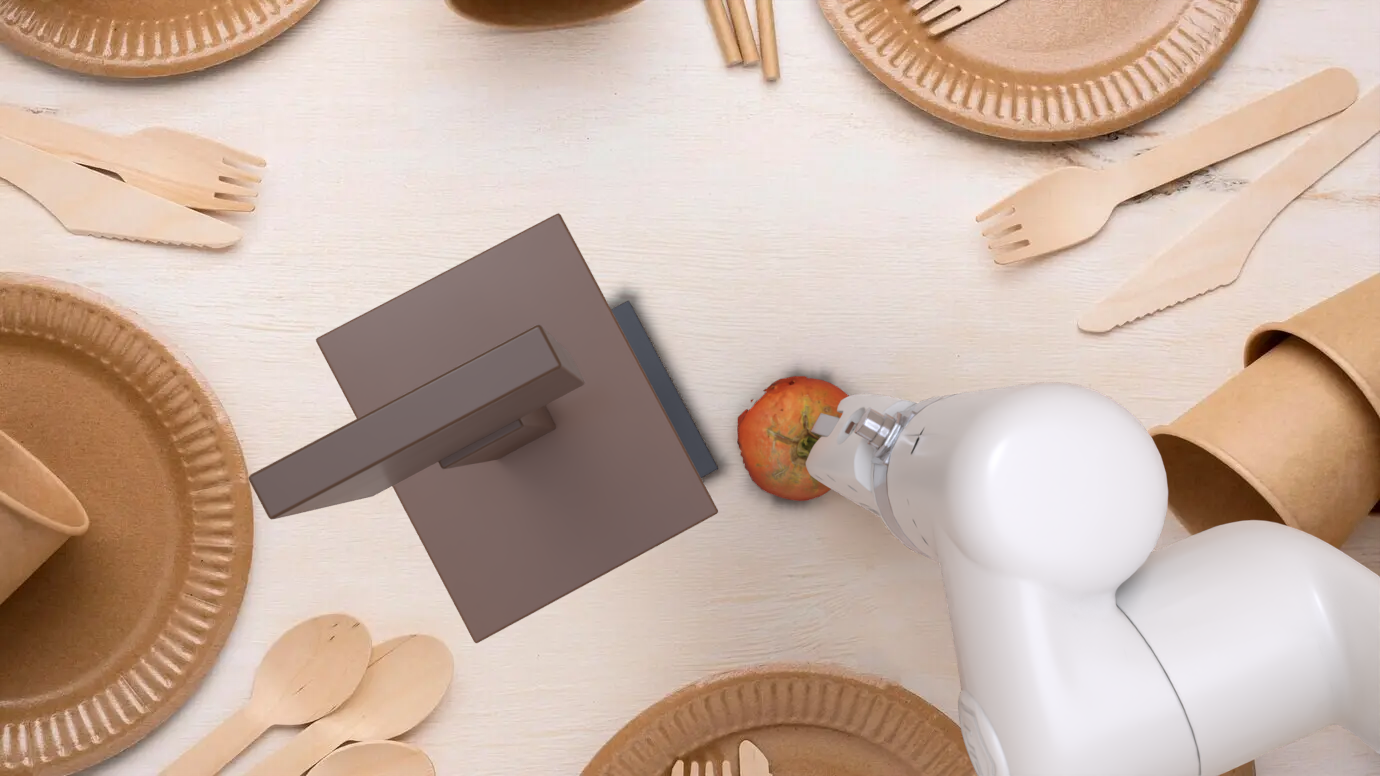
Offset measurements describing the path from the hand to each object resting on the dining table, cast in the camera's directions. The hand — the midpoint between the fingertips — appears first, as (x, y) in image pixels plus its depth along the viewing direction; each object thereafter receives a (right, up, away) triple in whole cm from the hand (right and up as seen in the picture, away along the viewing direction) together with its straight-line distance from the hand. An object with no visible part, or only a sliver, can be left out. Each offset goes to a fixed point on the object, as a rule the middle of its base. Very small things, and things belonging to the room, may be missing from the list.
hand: (874, 467), depth 65 cm
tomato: (-4, +2, +3) cm, 6 cm away
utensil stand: (-18, +2, +2) cm, 18 cm away
